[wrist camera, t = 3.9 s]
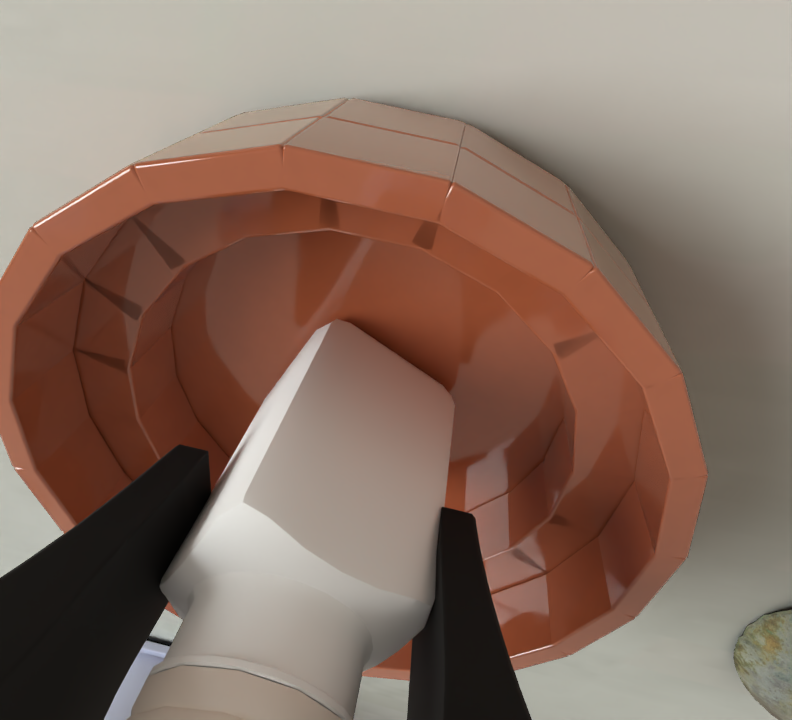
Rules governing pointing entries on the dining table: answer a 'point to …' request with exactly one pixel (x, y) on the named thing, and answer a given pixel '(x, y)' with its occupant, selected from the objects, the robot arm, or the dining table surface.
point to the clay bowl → (379, 318)
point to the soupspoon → (768, 662)
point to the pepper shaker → (310, 542)
